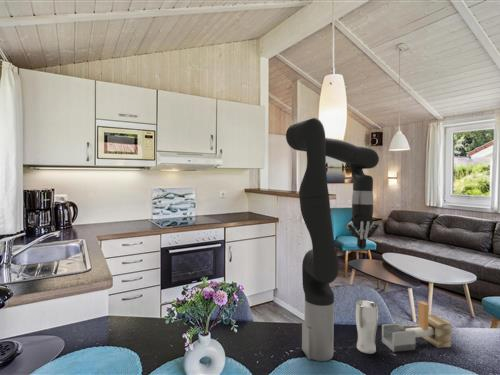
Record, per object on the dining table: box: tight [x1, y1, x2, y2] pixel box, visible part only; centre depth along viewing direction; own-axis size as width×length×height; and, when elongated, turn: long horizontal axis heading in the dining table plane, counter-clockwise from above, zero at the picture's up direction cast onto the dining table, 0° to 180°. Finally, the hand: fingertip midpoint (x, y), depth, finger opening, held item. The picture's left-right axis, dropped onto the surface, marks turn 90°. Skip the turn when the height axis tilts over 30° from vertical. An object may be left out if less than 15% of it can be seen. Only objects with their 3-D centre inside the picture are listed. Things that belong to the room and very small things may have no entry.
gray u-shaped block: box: [381, 322, 417, 353], centre depth 99 cm, size 8×6×6 cm
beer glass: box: [355, 299, 379, 355], centre depth 97 cm, size 7×7×15 cm
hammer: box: [404, 300, 435, 338], centre depth 101 cm, size 12×3×12 cm, turn 100°
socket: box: [421, 313, 452, 349], centre depth 102 cm, size 5×7×8 cm
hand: (361, 248), depth 110 cm, fingers closed
